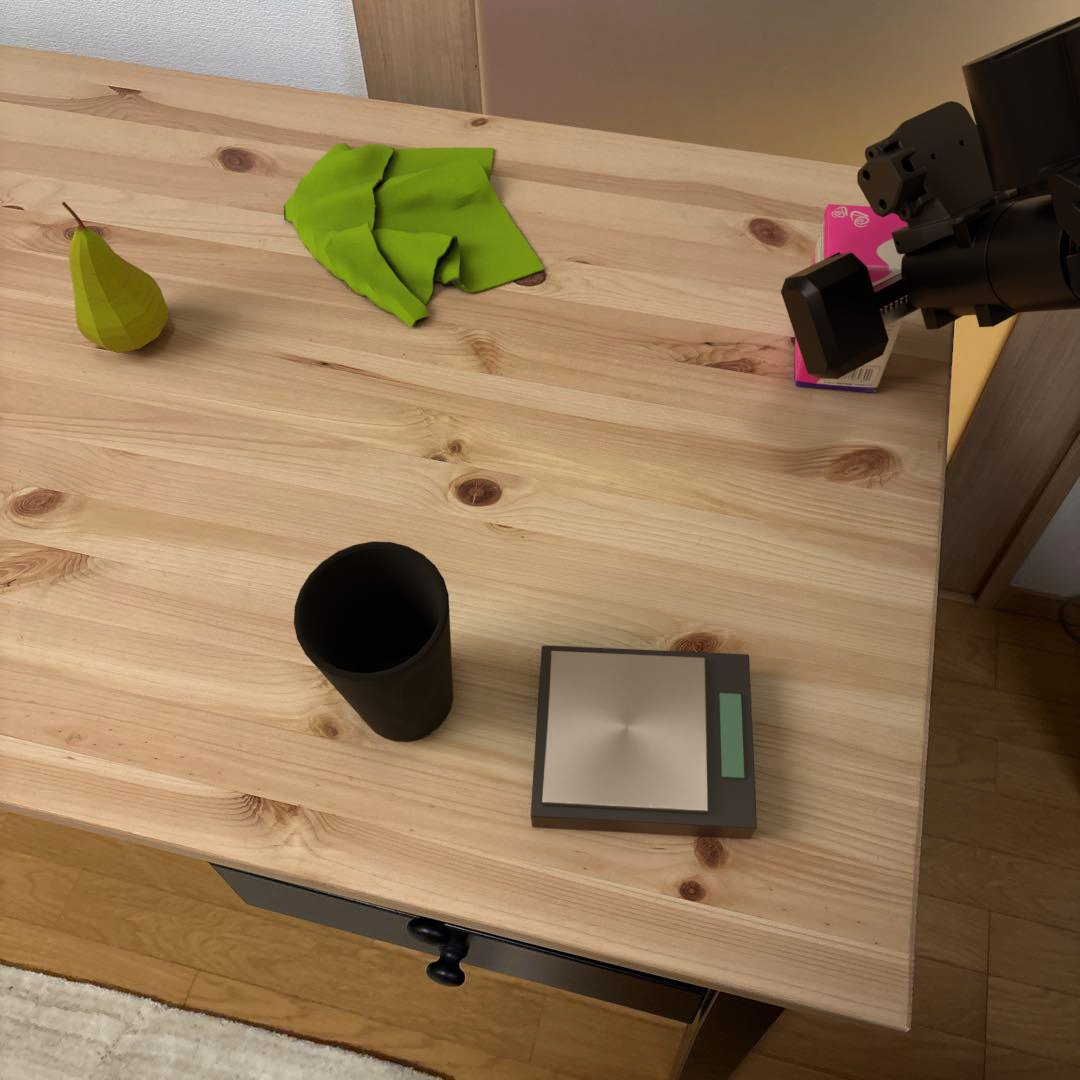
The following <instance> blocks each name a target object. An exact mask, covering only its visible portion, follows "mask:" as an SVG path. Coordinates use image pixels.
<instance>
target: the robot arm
mask: <svg viewBox="0 0 1080 1080" xmlns="http://www.w3.org/2000/svg"><path fill="white" fill-rule="evenodd" d="M961 71H962V73H963V74H962V75H963V79H964V82H965V86H966V91H967V95H968V98H969V102H970V106H971V110H972V114H973V117H972V115H971V114H970V112H969V111H968V109H967V108H966V106H964V105H963V104H962V103H960V102H957V101H953V100H949V101H946V102H943V103H940V104H939V105H937V106H935V107H932V108H930V109H928V110H926V111H924V112H921V113H920V114H917V115H915V116H913V117H910V118H909V119H907V120H904V121H903V122H901V123H900V124H899V125H898V126H897V128H896V129H894V130H893V132H891V133H890V135H889V136H887V137H885V138H884V139H882V140H880V141H877V142H875V143H873V144H871V145H869V146H867V147H866V148H865V150H864V157H865V160H866V163H865V164H863V166H861V167H860V169H858V171H857V175H856V176H857V177H856V179H857V180H856V182H857V185H858V187H859V189H860V191H861V192H862V194H863V195H864V198H865V199H866V201H867V203H868V205H869V207H871V208H872V210H873V212H874V213H875V214H876V215H878V216H880V217H885V216H887V215H889V214H896V215H898V217H899V218H900V219H901V220H902V221H904V222H906V223H907V225H908V226H905V227H902V228H900V229H898V230H896V231H894V232H892V233H891V234H892V237H893V240H894V244H895V247H896V251H897V253H898V254H904V256H903V257H902V262H901V273H899V274H897V275H895V276H893V277H891V278H889V279H887V280H885V281H883V282H881V283H879V284H877V285H875V286H873V285H872V282H871V278H870V275H869V272H868V268H867V266H866V265H865V264H864V263H863V262H862V261H861V260H860V259H858V258H857V257H856V256H855V255H854V254H853V253H852V252H851V253H844V254H840V252H838V253H836V254H834V255H832V256H830V257H828V258H826V259H824V260H822V261H820V262H818V263H816V264H814V265H812V266H811V265H810V266H808V267H805V268H803V269H801V270H799V271H797V272H795V273H793V274H791V275H789V276H787V277H786V278H784V281H783V284H782V286H781V290H780V294H781V297H782V300H783V303H784V306H785V308H786V312H787V315H788V318H789V321H790V324H791V327H792V330H793V333H794V337H795V336H796V339H797V343H798V346H799V349H800V352H801V355H802V358H803V361H804V364H805V367H806V370H807V373H808V374H809V375H812V376H814V377H816V378H818V379H838V378H840V377H842V376H844V375H846V374H848V373H850V372H852V371H854V370H855V369H857V368H859V367H861V366H863V365H865V364H867V363H869V362H871V361H872V360H874V359H876V358H878V357H880V356H882V355H883V353H884V351H885V348H886V346H887V343H888V341H889V338H888V335H887V332H886V328H885V327H886V326H887V325H889V324H891V323H893V322H895V321H897V320H899V319H901V318H903V317H904V318H905V317H907V316H908V315H911V314H912V313H914V312H916V311H918V310H920V312H921V315H922V318H923V322H924V323H923V324H924V326H925V329H926V330H940V329H942V328H944V327H945V326H947V325H949V324H952V323H953V322H954V321H956V320H959V319H960V318H962V317H965V316H967V317H968V316H975V317H976V320H977V324H978V327H979V328H994V327H996V326H997V325H1000V324H1002V323H1003V322H1005V321H1007V320H1008V319H1011V318H1012V317H1014V316H1016V315H1018V314H1019V313H1033V312H1050V311H1067V310H1080V15H1079V16H1076V17H1073V18H1071V19H1068V20H1066V21H1063V22H1061V23H1059V24H1055V25H1053V26H1050V27H1047V28H1046V29H1043V30H1041V31H1038V32H1036V33H1033V34H1031V35H1029V36H1026V37H1023V38H1021V39H1019V40H1017V41H1014V42H1012V43H1010V44H1007V45H1005V46H1002V47H1000V48H997V49H996V50H993V51H991V52H989V53H986V54H984V55H982V56H980V57H977V58H975V59H973V60H971V61H969V62H967V63H965V64H964V65H962V66H961ZM973 118H974V119H973ZM901 298H903V299H901ZM897 300H898V302H895V301H897ZM891 303H892V304H891ZM889 304H890V305H889ZM885 306H887V307H885ZM880 309H882V310H880Z"/></svg>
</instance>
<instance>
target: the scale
mask: <svg viewBox="0 0 1080 1080" xmlns="http://www.w3.org/2000/svg"><path fill="white" fill-rule="evenodd" d="M540 651H541V653H540V665H539V667H540V669H539V681H538V683H539V684H538V697H537V713H536V725H535V726H536V728H535V740H534V755H533V757H534V758H533V772H532V788H531V800H530V802H531V803H530V822H531V827H532V828H537V829H539V828H540V829H557V830H574V831H575V830H576V831H592V832H593V831H594V832H610V833H629V834H630V833H632V834H645V835H646V834H647V835H648V834H650V835H665V836H666V835H667V836H684V837H702V838H703V837H704V838H720V839H740V840H751V838H752V836H753V835H754V834H755V832H756V830H757V828H758V818H757V798H756V797H757V796H756V776H755V775H756V773H755V772H756V771H755V757H754V756H755V754H754V732H753V712H752V711H753V710H752V690H751V686H752V685H751V669H750V668H751V667H750V666H751V665H750V664H751V663H750V655H749V654H748V653H747V654H746V653H728V652H727V653H726V652H724V653H723V652H702V651H683V650H682V651H678V650H658V649H657V650H656V649H655V650H654V649H639V648H637V649H635V648H615V647H614V648H613V647H594V646H593V647H590V646H589V647H588V646H567V645H566V646H565V645H549V644H548V645H546V644H545V645H541V650H540Z"/></svg>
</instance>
